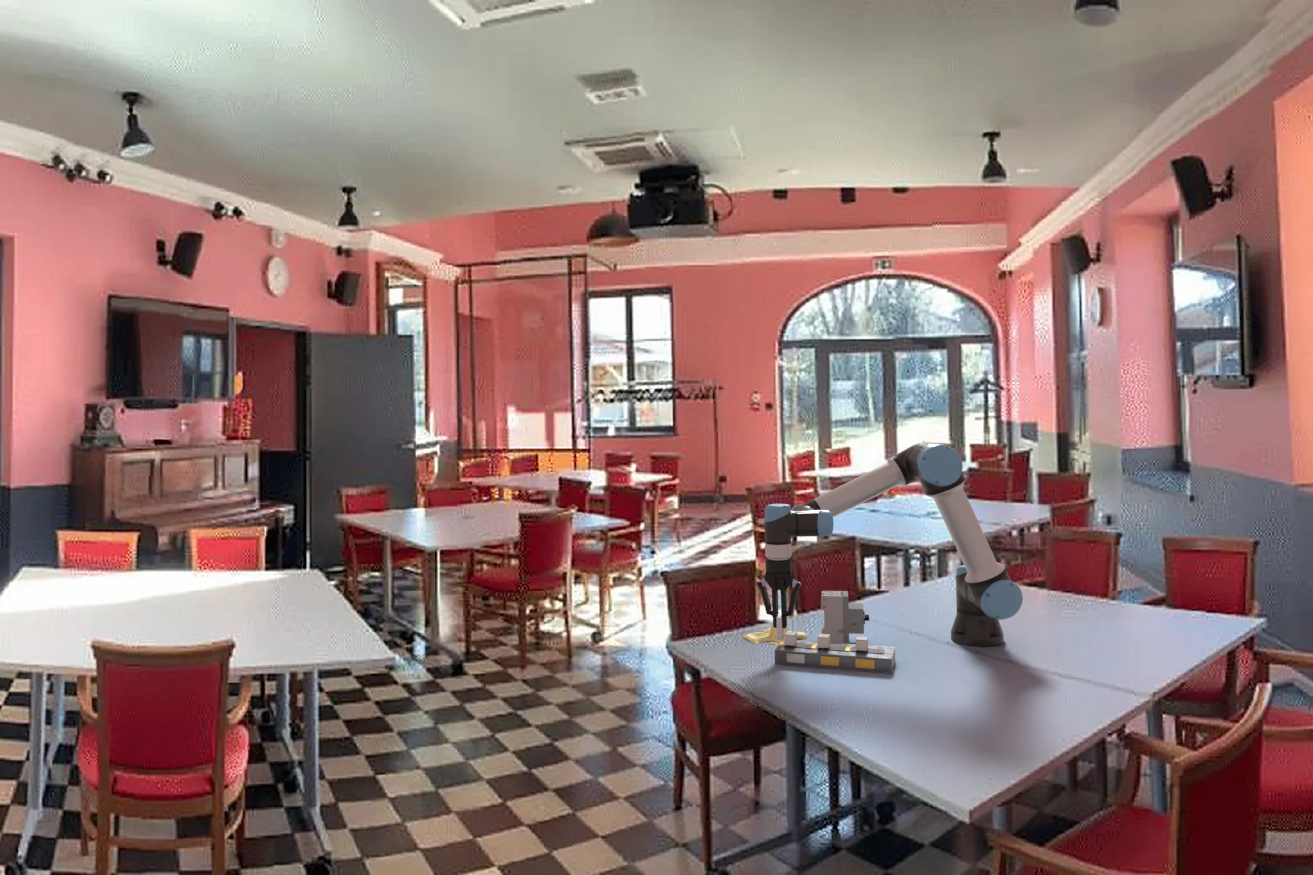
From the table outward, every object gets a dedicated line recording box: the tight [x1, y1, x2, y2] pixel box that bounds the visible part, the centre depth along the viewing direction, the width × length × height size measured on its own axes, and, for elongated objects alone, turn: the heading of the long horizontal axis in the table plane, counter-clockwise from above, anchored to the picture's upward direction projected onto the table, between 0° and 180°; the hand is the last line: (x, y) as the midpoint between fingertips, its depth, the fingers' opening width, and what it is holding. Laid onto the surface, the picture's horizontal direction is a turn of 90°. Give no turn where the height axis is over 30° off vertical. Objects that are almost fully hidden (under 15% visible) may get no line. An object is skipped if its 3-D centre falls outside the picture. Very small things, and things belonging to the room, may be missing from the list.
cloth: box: [742, 624, 808, 646], centre depth 265 cm, size 22×19×6 cm
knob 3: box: [855, 635, 869, 651], centre depth 236 cm, size 3×4×3 cm
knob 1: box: [784, 630, 798, 646], centre depth 243 cm, size 3×4×3 cm
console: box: [774, 639, 896, 675], centre depth 238 cm, size 32×12×4 cm, turn 70°
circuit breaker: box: [820, 590, 870, 644], centre depth 259 cm, size 8×14×15 cm, turn 78°
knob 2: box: [817, 633, 830, 648], centre depth 239 cm, size 3×4×3 cm
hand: (780, 638), depth 244 cm, fingers closed
